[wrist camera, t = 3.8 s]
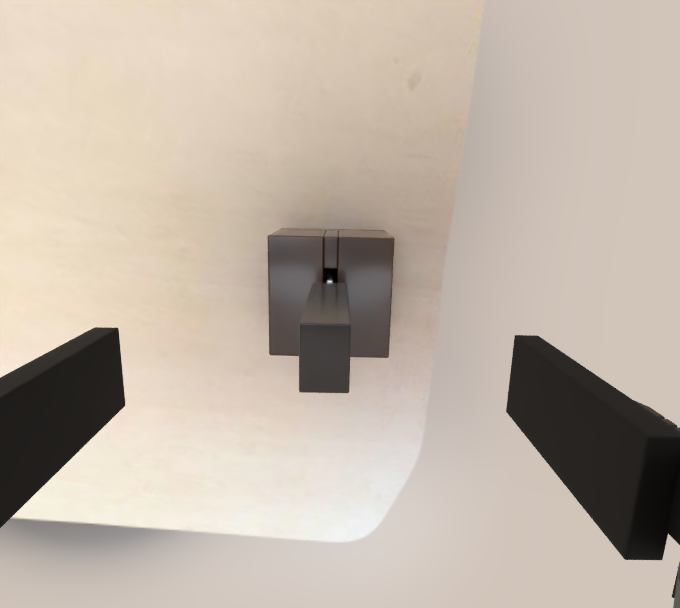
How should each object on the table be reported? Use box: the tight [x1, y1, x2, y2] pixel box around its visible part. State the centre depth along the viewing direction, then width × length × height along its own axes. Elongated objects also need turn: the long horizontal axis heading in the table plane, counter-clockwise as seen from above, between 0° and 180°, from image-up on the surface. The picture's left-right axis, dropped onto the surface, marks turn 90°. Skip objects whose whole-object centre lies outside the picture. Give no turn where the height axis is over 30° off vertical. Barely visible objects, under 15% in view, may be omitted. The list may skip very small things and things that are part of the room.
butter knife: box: [299, 269, 351, 393], centre depth 24 cm, size 2×3×16 cm, turn 179°
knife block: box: [268, 228, 394, 358], centre depth 29 cm, size 7×7×6 cm
